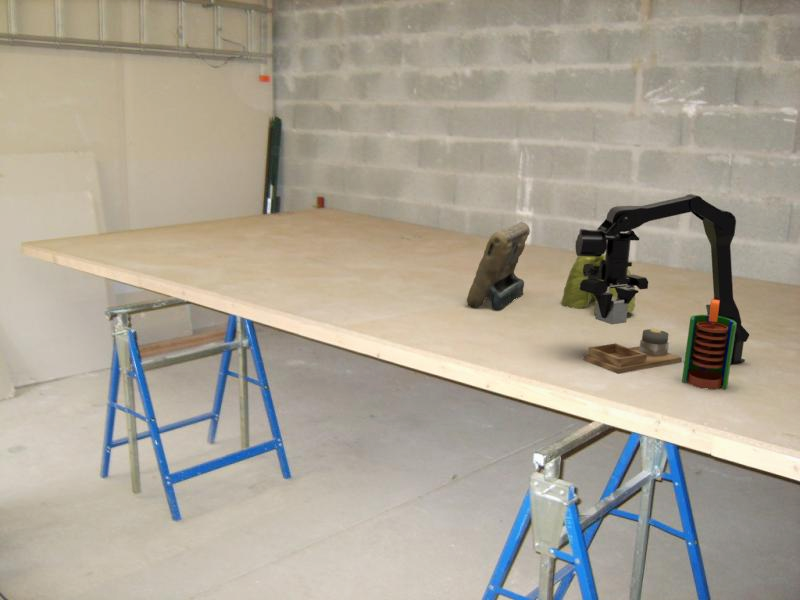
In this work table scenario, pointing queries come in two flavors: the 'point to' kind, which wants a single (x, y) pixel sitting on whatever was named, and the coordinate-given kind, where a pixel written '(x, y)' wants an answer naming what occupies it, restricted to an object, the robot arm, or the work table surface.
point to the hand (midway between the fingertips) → (611, 316)
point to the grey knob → (655, 336)
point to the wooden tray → (630, 356)
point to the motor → (709, 349)
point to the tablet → (499, 269)
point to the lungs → (572, 288)
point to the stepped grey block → (614, 312)
